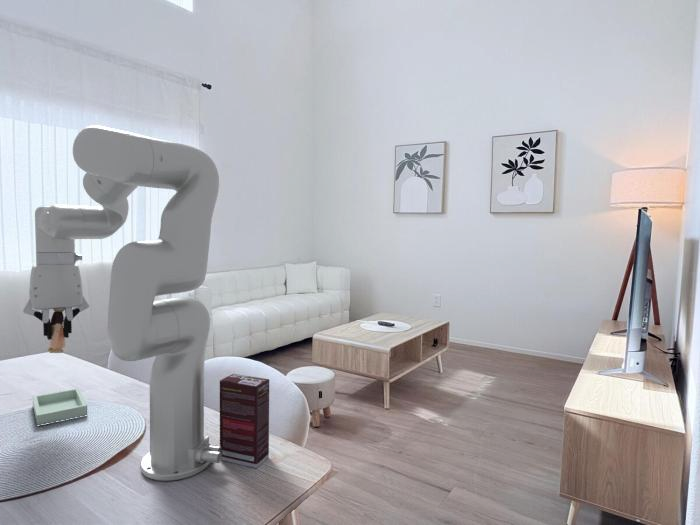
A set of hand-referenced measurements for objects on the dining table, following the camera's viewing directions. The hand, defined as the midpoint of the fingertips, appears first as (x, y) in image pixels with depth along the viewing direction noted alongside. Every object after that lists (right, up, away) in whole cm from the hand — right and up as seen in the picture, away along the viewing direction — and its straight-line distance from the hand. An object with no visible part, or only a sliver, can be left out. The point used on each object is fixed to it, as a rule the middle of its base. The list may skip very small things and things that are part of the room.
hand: (57, 336), depth 103 cm
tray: (-1, -18, +1) cm, 18 cm away
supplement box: (+48, -21, -18) cm, 55 cm away
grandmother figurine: (-1, -3, 0) cm, 3 cm away
